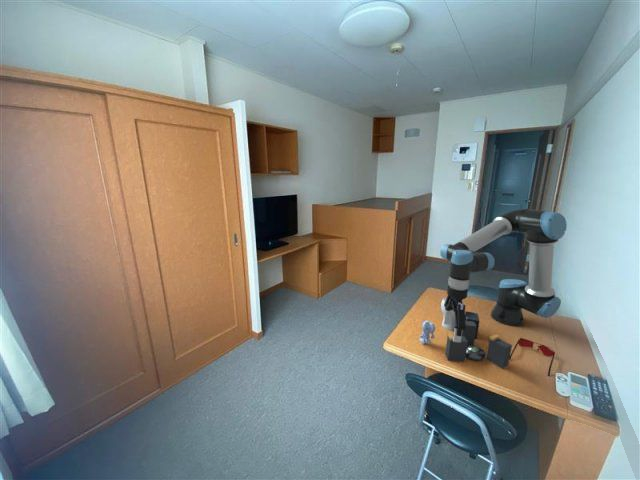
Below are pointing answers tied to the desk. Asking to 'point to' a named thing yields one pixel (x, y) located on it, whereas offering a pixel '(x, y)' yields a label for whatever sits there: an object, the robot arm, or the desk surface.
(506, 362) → the dark grey tan-ended block
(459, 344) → the dark grey block
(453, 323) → the cup
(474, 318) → the box
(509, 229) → the robot arm
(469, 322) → the grey tan block
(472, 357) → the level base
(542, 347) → the glasses
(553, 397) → the desk surface
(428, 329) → the toy figurine
